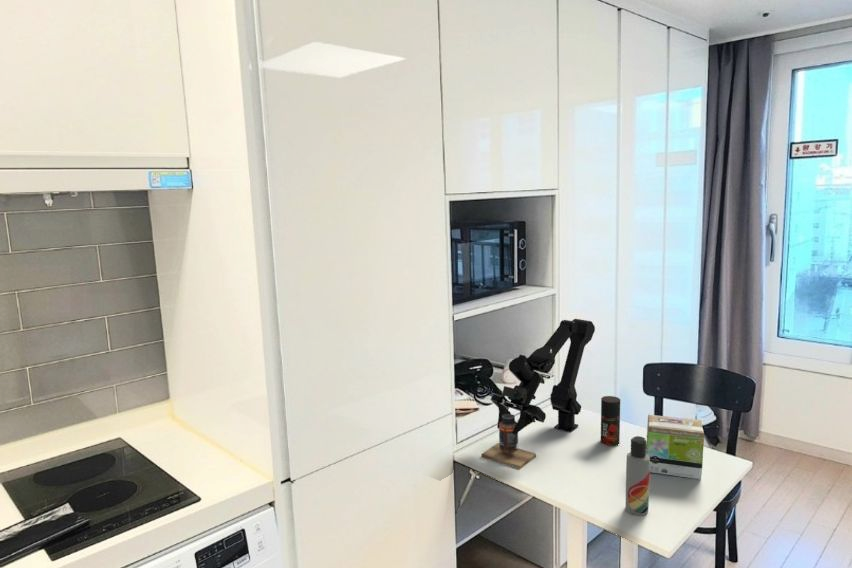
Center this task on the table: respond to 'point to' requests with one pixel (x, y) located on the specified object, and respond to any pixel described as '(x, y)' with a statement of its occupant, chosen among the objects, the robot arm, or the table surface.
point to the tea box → (675, 446)
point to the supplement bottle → (508, 434)
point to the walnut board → (509, 456)
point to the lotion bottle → (637, 477)
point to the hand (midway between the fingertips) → (505, 431)
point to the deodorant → (610, 420)
